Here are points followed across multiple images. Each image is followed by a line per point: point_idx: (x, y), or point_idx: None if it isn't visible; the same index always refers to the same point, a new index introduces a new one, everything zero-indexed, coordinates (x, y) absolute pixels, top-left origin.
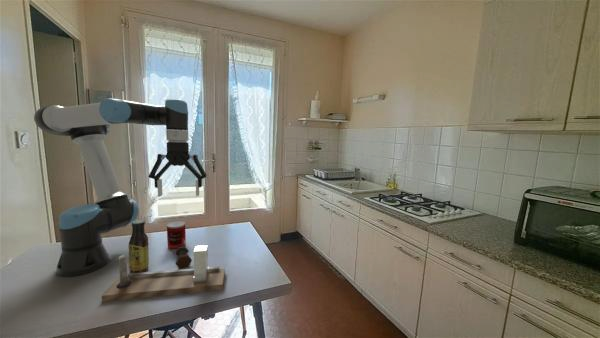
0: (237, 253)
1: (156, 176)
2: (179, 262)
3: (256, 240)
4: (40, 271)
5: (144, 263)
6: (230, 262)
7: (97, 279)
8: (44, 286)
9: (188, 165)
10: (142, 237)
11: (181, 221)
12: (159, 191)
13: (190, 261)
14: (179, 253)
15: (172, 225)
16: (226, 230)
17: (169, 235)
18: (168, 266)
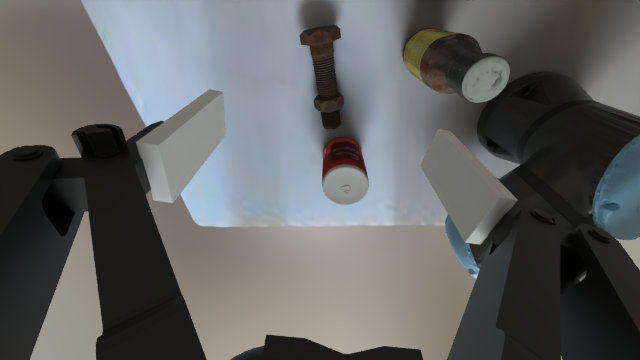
0: (189, 67)
1: (545, 228)
2: (330, 27)
3: None
4: None
5: (417, 37)
6: (199, 16)
7: (507, 38)
8: (603, 43)
9: (122, 326)
10: (449, 48)
11: (332, 200)
12: (454, 144)
13: (303, 31)
14: (332, 80)
15: (354, 182)
16: (237, 200)
17: (360, 158)
18: (357, 50)
